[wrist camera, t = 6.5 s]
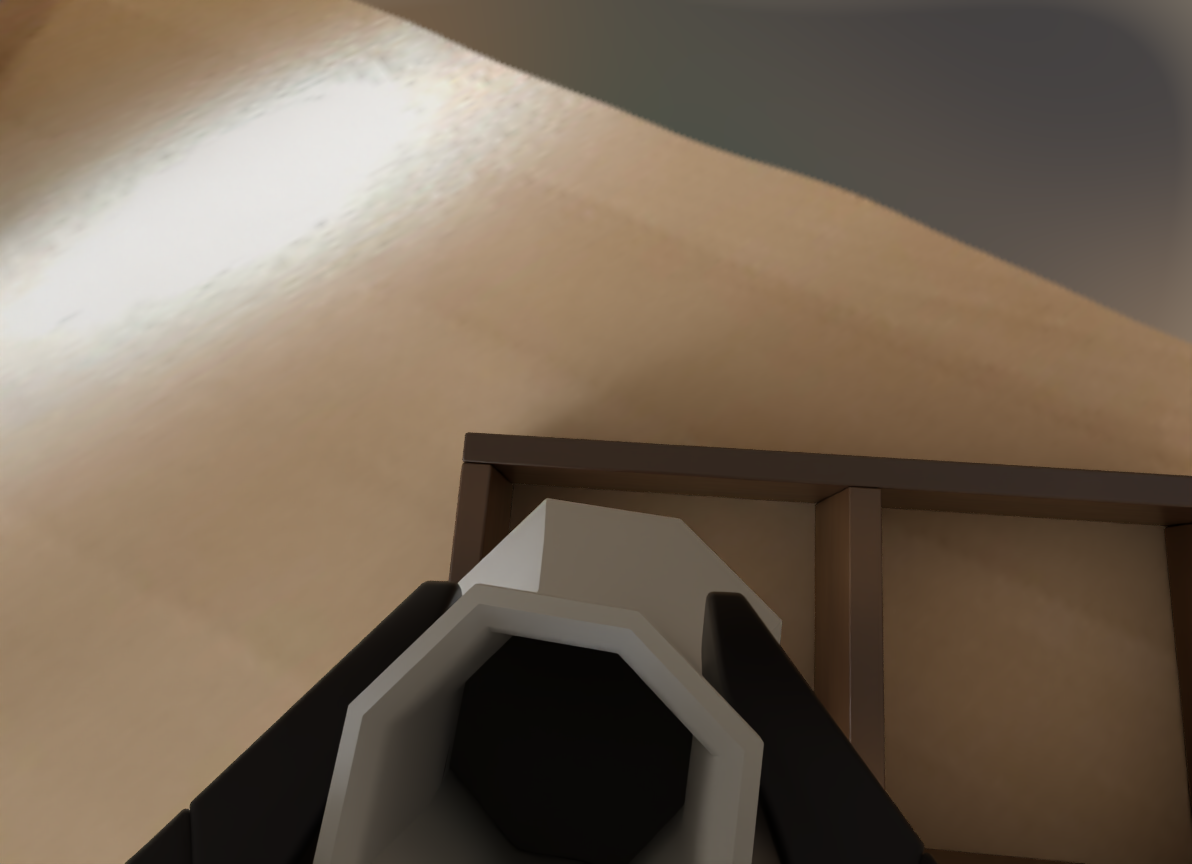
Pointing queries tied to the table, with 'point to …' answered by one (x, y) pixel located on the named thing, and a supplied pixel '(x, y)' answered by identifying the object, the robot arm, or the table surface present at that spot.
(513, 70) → the table surface
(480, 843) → the flask
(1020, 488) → the walnut divided tray
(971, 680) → the table surface
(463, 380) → the table surface
